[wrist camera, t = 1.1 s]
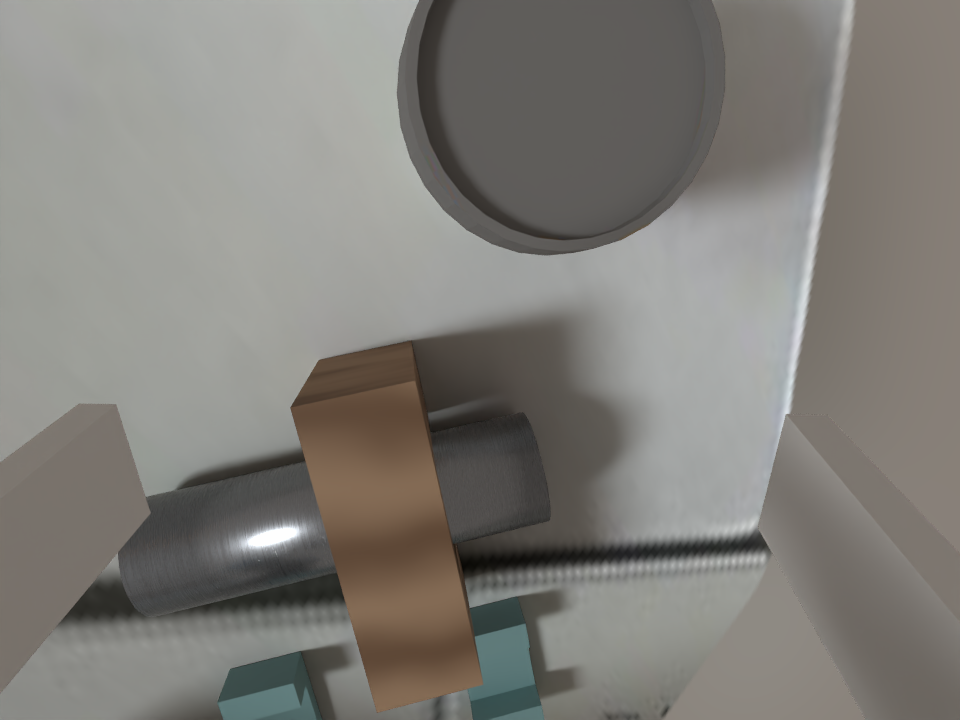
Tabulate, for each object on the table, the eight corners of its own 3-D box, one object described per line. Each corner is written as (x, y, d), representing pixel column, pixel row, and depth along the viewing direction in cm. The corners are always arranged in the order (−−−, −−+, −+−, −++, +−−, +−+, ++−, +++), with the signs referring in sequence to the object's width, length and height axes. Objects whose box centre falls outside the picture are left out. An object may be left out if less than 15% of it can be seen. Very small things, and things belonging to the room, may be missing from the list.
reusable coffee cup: (381, 222, 36) (369, 221, 21) (418, 2, 33) (432, -168, 19) (574, 262, 38) (681, 286, 24) (622, 58, 36) (774, -55, 21)
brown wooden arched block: (464, 579, 42) (483, 684, 33) (382, 599, 42) (376, 712, 32) (411, 340, 38) (414, 380, 28) (318, 360, 37) (290, 407, 28)
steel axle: (514, 398, 40) (538, 434, 33) (531, 490, 42) (556, 542, 35) (156, 478, 38) (103, 534, 31) (189, 571, 40) (145, 643, 33)
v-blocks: (536, 695, 45) (545, 727, 42) (265, 768, 44) (255, 806, 41) (517, 596, 43) (525, 623, 40) (230, 669, 41) (217, 702, 38)
